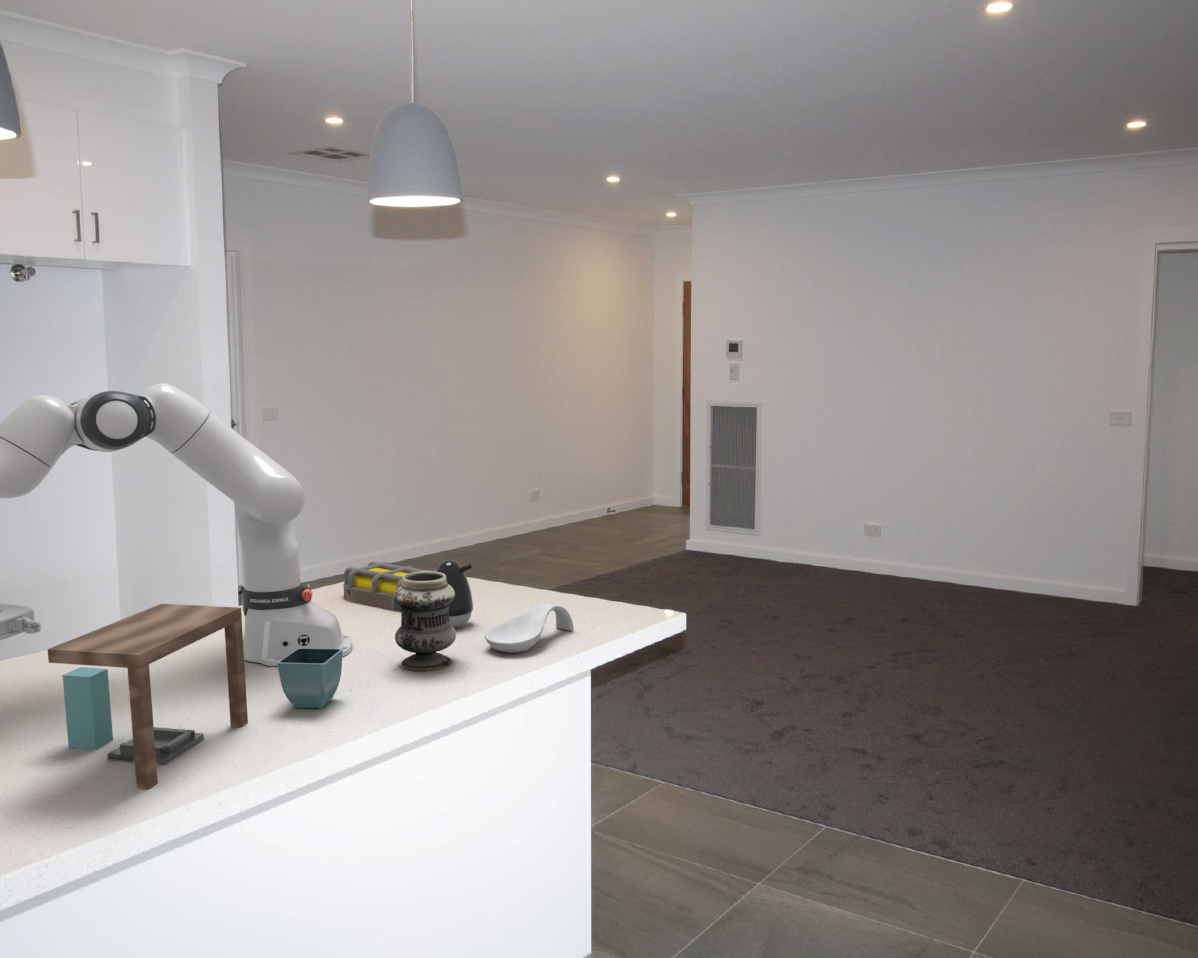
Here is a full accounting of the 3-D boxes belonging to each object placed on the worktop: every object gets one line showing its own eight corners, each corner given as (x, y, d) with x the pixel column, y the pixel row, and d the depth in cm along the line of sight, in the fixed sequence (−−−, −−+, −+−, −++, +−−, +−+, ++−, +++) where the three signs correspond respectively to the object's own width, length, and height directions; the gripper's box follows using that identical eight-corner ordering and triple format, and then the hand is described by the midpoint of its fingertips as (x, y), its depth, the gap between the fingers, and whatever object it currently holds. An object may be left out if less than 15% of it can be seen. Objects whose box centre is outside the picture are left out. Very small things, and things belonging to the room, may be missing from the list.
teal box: (68, 747, 160) (62, 675, 158) (86, 737, 164) (80, 667, 162) (96, 749, 159) (90, 676, 157) (113, 740, 163) (107, 668, 161)
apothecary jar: (437, 676, 192) (434, 584, 190) (383, 669, 197) (380, 579, 194) (467, 657, 204) (465, 571, 201) (416, 651, 208) (413, 566, 206)
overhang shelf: (58, 780, 148) (47, 649, 145) (169, 716, 173) (161, 603, 170) (148, 789, 144) (138, 654, 142) (247, 722, 170) (241, 607, 167)
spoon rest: (516, 662, 201) (516, 627, 200) (473, 652, 208) (472, 618, 207) (586, 633, 220) (585, 602, 219) (544, 625, 227) (543, 594, 226)
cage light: (414, 583, 235) (330, 567, 252) (415, 616, 236) (331, 598, 253) (457, 571, 247) (374, 557, 264) (458, 603, 248) (375, 587, 265)
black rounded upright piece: (467, 632, 221) (465, 565, 219) (422, 631, 223) (419, 564, 221) (479, 620, 231) (478, 555, 229) (436, 618, 233) (434, 554, 231)
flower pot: (278, 711, 175) (275, 662, 173) (300, 694, 183) (297, 646, 182) (326, 714, 173) (324, 663, 172) (346, 696, 182) (343, 648, 181)
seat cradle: (108, 759, 155) (107, 747, 155) (149, 734, 165) (148, 723, 164) (165, 764, 153) (164, 752, 153) (204, 739, 163) (203, 727, 162)
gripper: (-116, 628, 154) (-40, 633, 151) (-10, 597, 174) (59, 601, 171) (-113, 668, 155) (-37, 674, 152) (-7, 632, 174) (62, 637, 172)
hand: (15, 635), depth 161 cm, fingers open, 8 cm apart
